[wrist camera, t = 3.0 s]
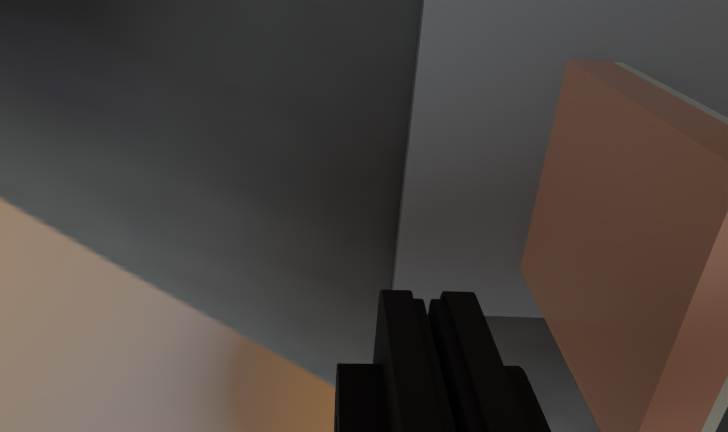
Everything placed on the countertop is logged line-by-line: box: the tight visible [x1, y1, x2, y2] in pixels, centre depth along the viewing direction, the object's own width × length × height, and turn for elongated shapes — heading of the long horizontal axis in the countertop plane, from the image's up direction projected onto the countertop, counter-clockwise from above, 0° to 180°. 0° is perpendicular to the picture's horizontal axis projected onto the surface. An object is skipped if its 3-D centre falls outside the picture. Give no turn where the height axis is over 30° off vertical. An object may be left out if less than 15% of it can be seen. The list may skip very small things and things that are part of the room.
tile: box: [520, 59, 728, 432], centre depth 14 cm, size 2×7×8 cm, turn 176°
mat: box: [391, 0, 728, 318], centre depth 18 cm, size 14×11×1 cm
